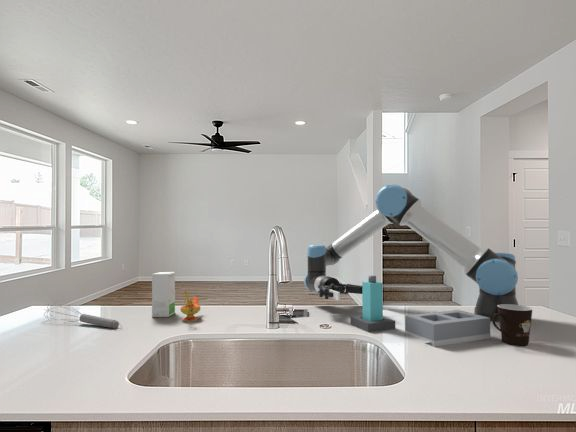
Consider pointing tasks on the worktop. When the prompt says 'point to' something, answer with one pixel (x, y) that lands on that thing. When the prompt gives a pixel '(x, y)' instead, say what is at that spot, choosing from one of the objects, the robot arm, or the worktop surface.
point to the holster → (372, 324)
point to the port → (448, 327)
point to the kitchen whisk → (90, 319)
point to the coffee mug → (514, 324)
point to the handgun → (296, 314)
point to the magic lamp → (190, 307)
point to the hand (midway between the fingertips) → (356, 295)
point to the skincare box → (163, 294)
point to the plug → (372, 299)
